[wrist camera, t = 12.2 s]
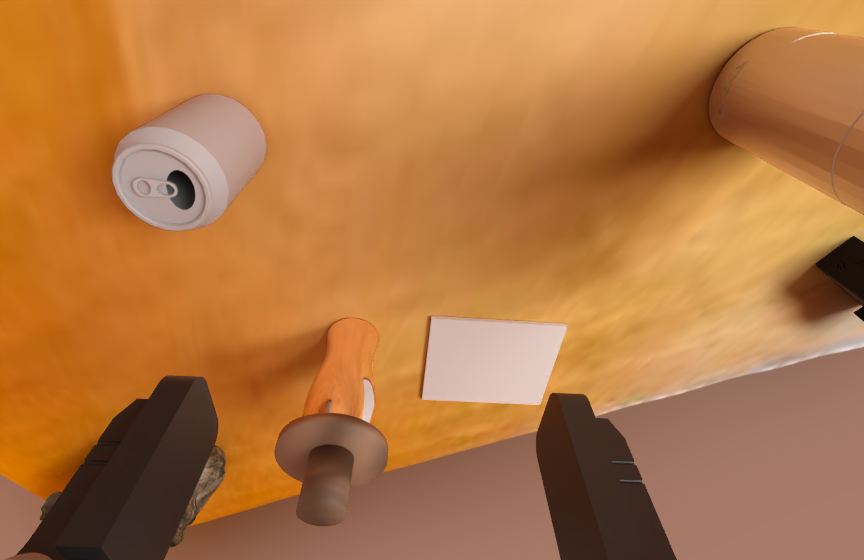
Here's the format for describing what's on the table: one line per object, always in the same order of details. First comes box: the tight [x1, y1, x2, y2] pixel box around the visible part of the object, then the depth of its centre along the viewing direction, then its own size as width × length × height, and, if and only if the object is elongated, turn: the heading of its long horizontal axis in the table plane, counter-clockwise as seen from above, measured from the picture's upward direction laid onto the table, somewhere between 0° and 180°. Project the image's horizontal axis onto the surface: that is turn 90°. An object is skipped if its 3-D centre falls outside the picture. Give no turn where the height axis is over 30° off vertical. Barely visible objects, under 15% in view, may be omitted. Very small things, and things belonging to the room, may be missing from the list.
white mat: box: [422, 316, 567, 405], centre depth 56 cm, size 16×14×1 cm
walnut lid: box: [275, 413, 388, 526], centre depth 38 cm, size 10×10×6 cm
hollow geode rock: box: [40, 446, 226, 547], centre depth 63 cm, size 28×13×15 cm
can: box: [112, 94, 267, 231], centre depth 34 cm, size 8×8×12 cm
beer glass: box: [302, 318, 379, 425], centre depth 47 cm, size 7×7×15 cm
